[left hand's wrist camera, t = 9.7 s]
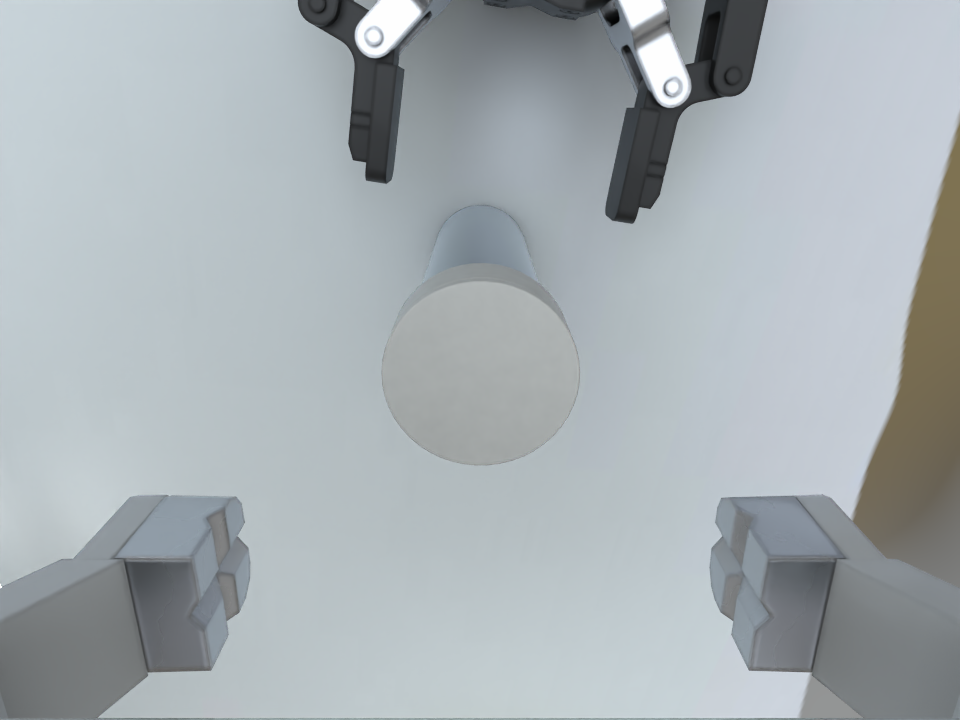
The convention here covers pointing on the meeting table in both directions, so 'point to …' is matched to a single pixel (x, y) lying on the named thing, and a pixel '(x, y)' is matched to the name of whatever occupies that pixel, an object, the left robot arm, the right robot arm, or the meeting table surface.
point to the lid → (480, 365)
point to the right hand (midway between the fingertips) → (500, 200)
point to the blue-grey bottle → (480, 242)
